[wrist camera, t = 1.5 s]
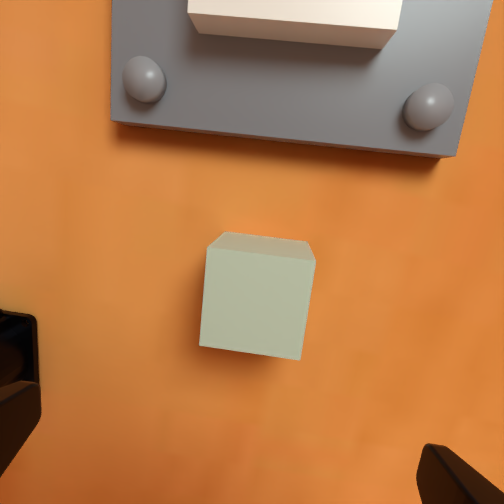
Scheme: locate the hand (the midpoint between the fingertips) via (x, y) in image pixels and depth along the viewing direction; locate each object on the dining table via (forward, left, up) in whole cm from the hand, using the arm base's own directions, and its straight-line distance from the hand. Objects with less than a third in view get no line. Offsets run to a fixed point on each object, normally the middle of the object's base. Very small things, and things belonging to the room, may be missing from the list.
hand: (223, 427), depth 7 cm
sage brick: (0, 0, -13) cm, 13 cm away
